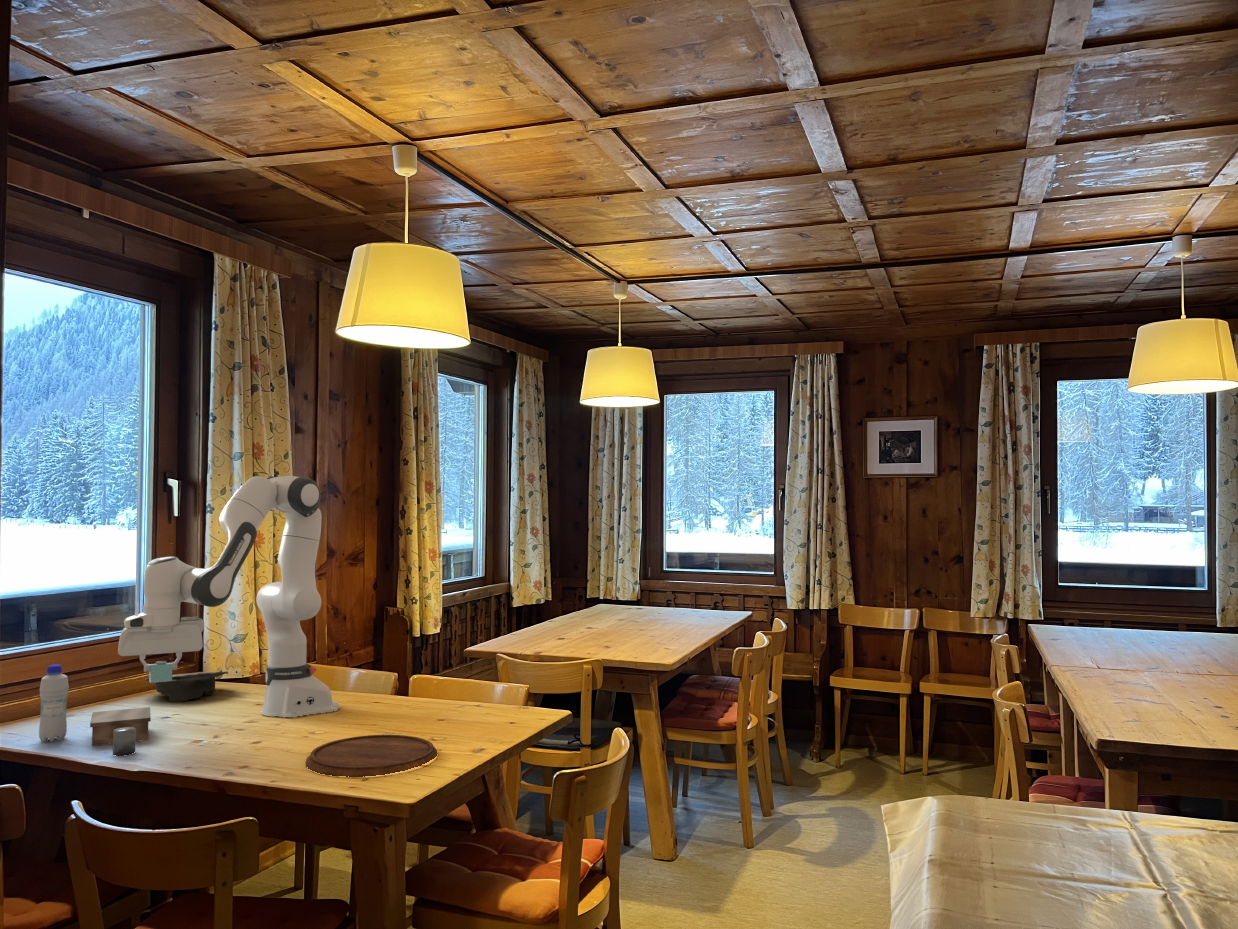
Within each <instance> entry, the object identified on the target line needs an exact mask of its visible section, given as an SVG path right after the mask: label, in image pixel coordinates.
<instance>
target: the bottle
mask: <svg viewBox="0 0 1238 929" xmlns="http://www.w3.org/2000/svg"><path fill="white" fill-rule="evenodd" d="M62 672H63V667H62V665H61V664H51V665H49V666H47V668H46V675H45V676H43V677H41V680H40V685H39V686H40V687H39V696H40V718H39V721H40V722H39V728H38V737H39V739H40V741H42V742H43V743H47V742H48V740H49V741H50V743H53V742H54V741H55V738H56V741H57V740H60V741H61V740H64V739H65V738H66V736H67V729H68V727H67V726H68V724H67V708H68V707H67V701H68V700H67V699H68V694H69V688H70V687H69V685H70V684H69V679H68V675H66V674H63V673H62ZM46 741H47V742H46Z"/></svg>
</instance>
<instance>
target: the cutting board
mask: <svg viewBox="0 0 1238 929" xmlns="http://www.w3.org/2000/svg"><path fill="white" fill-rule="evenodd" d="M437 751H438V749H436V747H435V746H434V744H433V742H431V741H430V740H427V739H425V738H421V737H417V736H412V735H403V734H369V735H360V736H352V737H346V738H342V739H337V740H333V741H329V742H327V743H324V744H321V745H319V746H317V747H316V748H315V747H314V749H313V750H312V751H311V752H310V754H309V755H308V756H307V758H306V760H305V762H304V763H305V764H306V765H305V764H304V765H305V767H306V768H307V767H308V769H310V770H312V771H315V772H317V773H320V774H325V775H332V776H346V777H348V776H349V777H363V776H364V777H365V776H376V775H385V774H390V773H395V772H400V771H405V770H408V769H411V768H414V767H418V766H421V765H422V764H425V763H427V762H429V761H430V760H432V759H434V758H435V757H436V756H437V754H438V755H439V752H438V753H437ZM308 769H307V770H308ZM310 770H309V771H310ZM312 771H311V772H312ZM317 773H316V774H317ZM320 774H319V775H320Z"/></svg>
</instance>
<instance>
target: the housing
mask: <svg viewBox="0 0 1238 929" xmlns="http://www.w3.org/2000/svg"><path fill="white" fill-rule="evenodd" d="M149 664H150V663H149ZM148 673H149V674H148V678H149V681H148V682H149V683H150V684H153V683H154V684H156V682H167V681H172V675H173V670H172V663H171V662H167V660H159V661H158V660H157V661H155V663H151V664H150V672H148Z"/></svg>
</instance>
